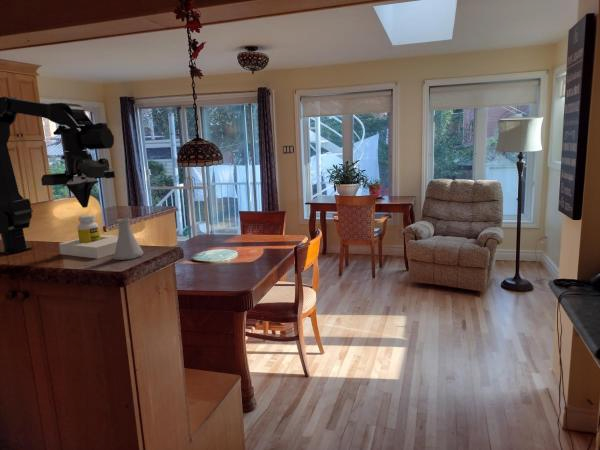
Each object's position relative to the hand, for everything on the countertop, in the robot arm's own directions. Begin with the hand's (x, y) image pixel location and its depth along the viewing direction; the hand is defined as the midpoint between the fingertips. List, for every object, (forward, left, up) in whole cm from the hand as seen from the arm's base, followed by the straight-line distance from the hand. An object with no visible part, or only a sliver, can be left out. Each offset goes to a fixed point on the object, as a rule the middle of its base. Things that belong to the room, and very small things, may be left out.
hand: (85, 207), depth 124 cm
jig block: (+3, 0, -12) cm, 13 cm away
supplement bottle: (0, 0, -13) cm, 13 cm away
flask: (+18, -2, -13) cm, 22 cm away
